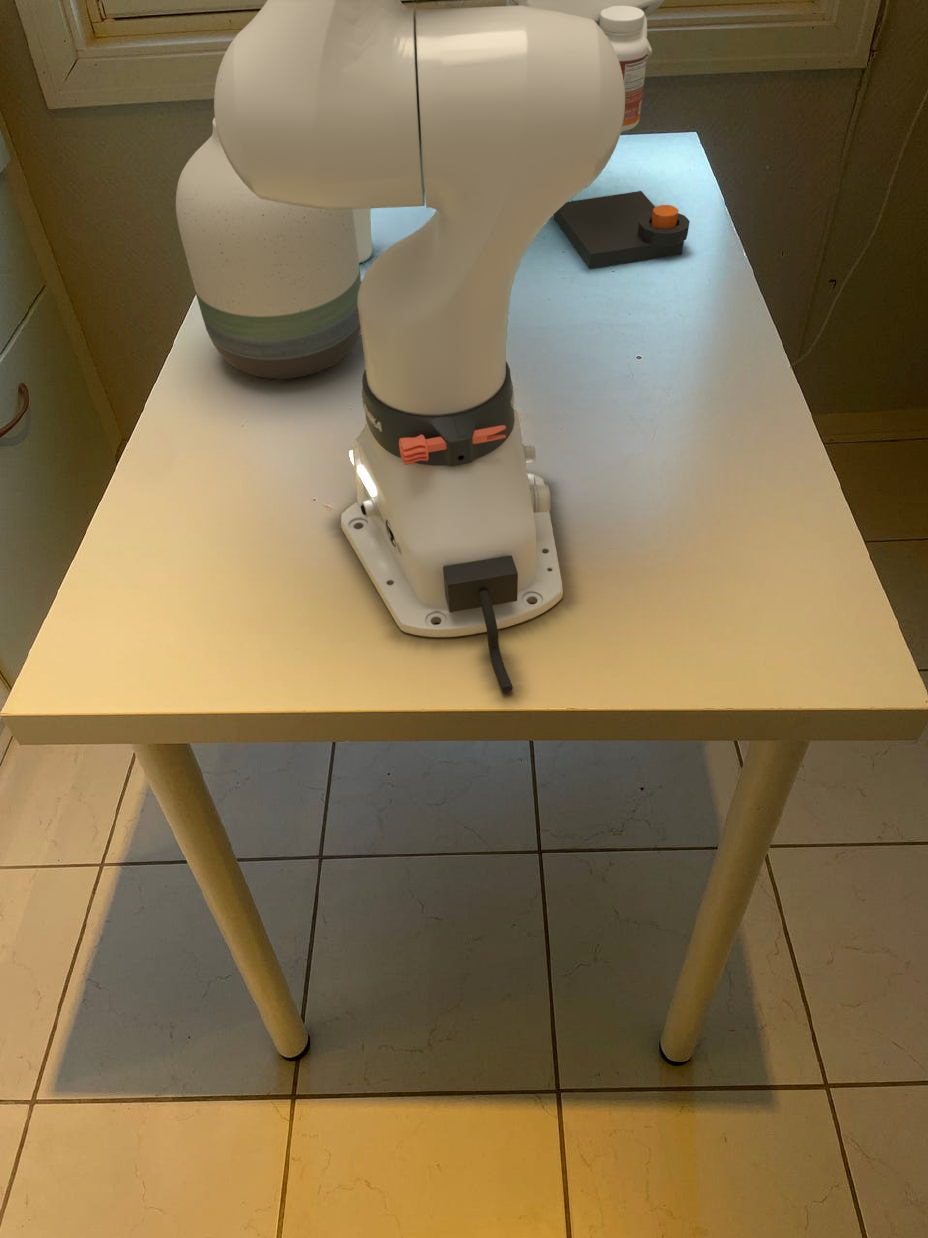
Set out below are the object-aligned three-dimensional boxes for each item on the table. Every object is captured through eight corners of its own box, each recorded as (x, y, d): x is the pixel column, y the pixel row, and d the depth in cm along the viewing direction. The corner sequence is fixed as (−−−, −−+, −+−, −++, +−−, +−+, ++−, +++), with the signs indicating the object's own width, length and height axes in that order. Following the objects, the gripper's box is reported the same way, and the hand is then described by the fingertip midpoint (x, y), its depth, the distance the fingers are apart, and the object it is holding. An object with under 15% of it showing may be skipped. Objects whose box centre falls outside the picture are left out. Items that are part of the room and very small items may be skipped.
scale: (692, 256, 113) (697, 228, 111) (591, 272, 111) (594, 244, 109) (646, 203, 123) (649, 176, 120) (553, 217, 121) (554, 190, 118)
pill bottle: (574, 120, 108) (580, 10, 99) (615, 107, 110) (625, -2, 101) (608, 138, 104) (618, 25, 96) (650, 124, 106) (663, 13, 98)
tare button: (680, 228, 112) (682, 213, 110) (657, 231, 111) (658, 217, 110) (670, 217, 114) (672, 202, 112) (647, 220, 113) (649, 206, 112)
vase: (399, 352, 101) (378, 117, 83) (267, 415, 94) (213, 174, 76) (312, 293, 110) (276, 69, 92) (185, 347, 103) (119, 116, 85)
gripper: (506, -58, 93) (570, 75, 95) (644, -96, 101) (700, 26, 104) (477, -15, 98) (538, 110, 101) (610, -55, 107) (664, 61, 109)
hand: (621, 67), depth 102 cm, fingers closed on pill bottle, 6 cm apart
